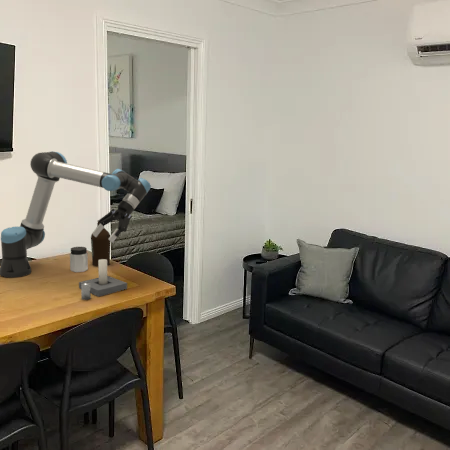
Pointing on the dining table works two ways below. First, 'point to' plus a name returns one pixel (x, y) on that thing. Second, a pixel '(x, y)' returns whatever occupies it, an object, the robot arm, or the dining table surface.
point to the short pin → (85, 290)
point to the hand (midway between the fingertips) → (101, 238)
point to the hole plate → (105, 286)
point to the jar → (78, 259)
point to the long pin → (102, 271)
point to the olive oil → (100, 246)
